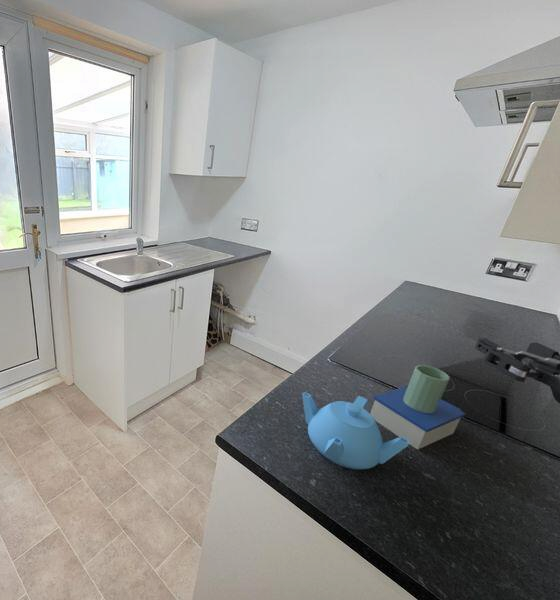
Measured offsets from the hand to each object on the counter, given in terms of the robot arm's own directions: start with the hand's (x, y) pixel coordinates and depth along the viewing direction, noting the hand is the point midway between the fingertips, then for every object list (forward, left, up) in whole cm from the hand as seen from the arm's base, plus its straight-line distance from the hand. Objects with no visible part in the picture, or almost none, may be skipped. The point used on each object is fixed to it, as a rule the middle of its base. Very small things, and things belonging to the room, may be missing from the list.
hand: (504, 344), depth 55 cm
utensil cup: (-5, -10, -22) cm, 25 cm away
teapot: (+18, -11, -28) cm, 35 cm away
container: (-5, -10, -28) cm, 30 cm away
